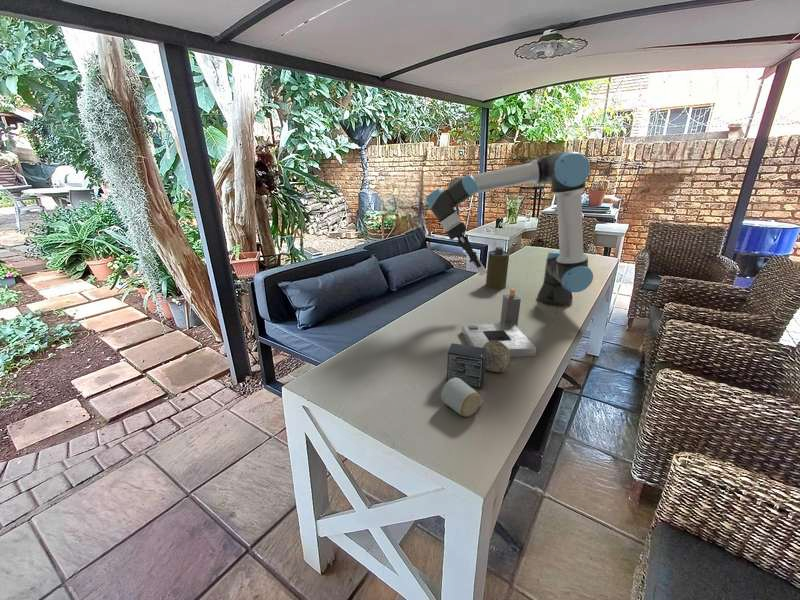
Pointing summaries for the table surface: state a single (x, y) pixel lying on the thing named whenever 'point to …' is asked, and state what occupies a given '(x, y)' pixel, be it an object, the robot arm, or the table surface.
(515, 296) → the plug
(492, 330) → the socket
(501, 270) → the canister
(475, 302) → the table surface
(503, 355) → the stone
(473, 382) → the small box
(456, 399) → the white short cylinder
